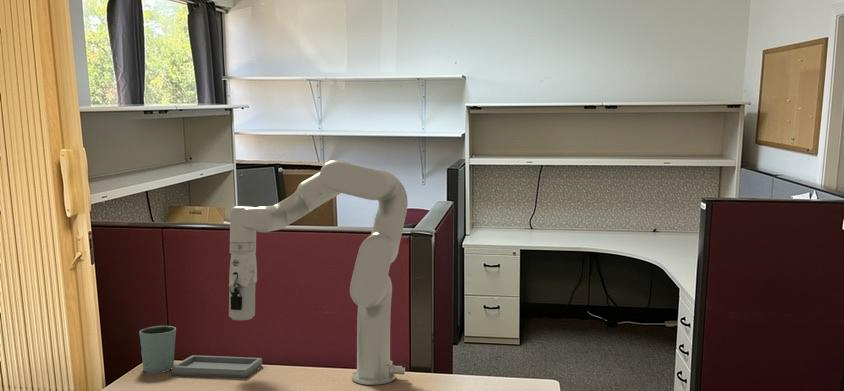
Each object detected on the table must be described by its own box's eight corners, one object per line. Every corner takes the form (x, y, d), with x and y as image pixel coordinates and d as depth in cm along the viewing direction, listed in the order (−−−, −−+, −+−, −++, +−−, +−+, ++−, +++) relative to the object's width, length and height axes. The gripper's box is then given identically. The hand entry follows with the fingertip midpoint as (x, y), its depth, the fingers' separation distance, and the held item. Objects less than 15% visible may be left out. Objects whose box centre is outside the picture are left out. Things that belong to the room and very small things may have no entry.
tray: (262, 366, 190) (262, 358, 190) (245, 378, 178) (245, 370, 178) (192, 363, 193) (192, 355, 193) (171, 375, 180) (171, 366, 180)
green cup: (182, 365, 191) (182, 326, 191) (165, 374, 181) (165, 333, 181) (150, 363, 192) (150, 325, 192) (132, 373, 182) (132, 332, 182)
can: (247, 321, 180) (248, 280, 179) (223, 320, 181) (224, 279, 181) (259, 316, 187) (260, 276, 187) (236, 314, 188) (237, 275, 188)
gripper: (243, 251, 175) (242, 313, 175) (266, 245, 192) (265, 302, 192) (217, 250, 175) (216, 312, 176) (242, 244, 193) (241, 301, 193)
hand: (242, 306), depth 184 cm, fingers closed on can, 7 cm apart
